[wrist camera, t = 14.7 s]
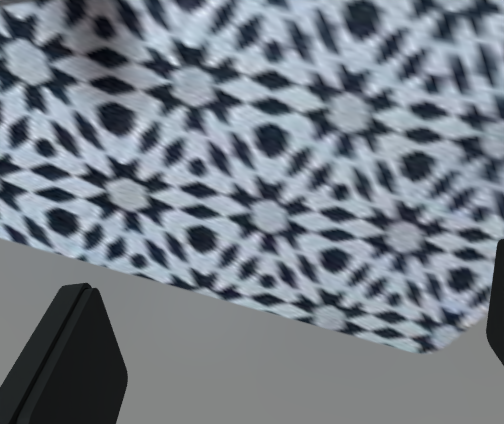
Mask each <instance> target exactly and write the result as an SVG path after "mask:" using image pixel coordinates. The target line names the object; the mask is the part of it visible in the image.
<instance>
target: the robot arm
mask: <svg viewBox="0 0 504 424" xmlns="http://www.w3.org/2000/svg"><path fill="white" fill-rule="evenodd" d="M486 334H487V339H488V342H489V344H490V346H491V348H492V349H493V351H494V352H495V354H496V355H497V356H498V358H499V360H500V361H501V362H502V364H503V365H504V239H501V240H499V242H498V244H497V250H496V258H495V266H494V273H493V281H492V289H491V297H490V305H489V312H488V320H487V328H486ZM127 382H128V376H127V370H126V366H125V363H124V361H123V358H122V355H121V352H120V349H119V346H118V343H117V341H116V338H115V335H114V332H113V329H112V327H111V324H110V320H109V318H108V315H107V312H106V309H105V306H104V303H103V300H102V297H101V295H100V292H99V290H98V289H97V288H92V287H91V286H90V285H89V284H88V283H81V284H73V285H65V286H62V287H61V288H60V289H59V291H58V293H57V295H56V296H55V298H54V299H53V301H52V303H51V304H50V306H49V308H48V309H47V311H46V313H45V314H44V316H43V318H42V319H41V321H40V323H39V324H38V326H37V327H36V329H35V331H34V332H33V334H32V336H31V337H30V339H29V341H28V342H27V344H26V346H25V347H24V349H23V351H22V352H21V354H20V356H19V357H18V359H17V360H16V362H15V364H14V365H13V367H12V369H11V371H10V372H9V374H8V375H7V377H6V379H5V380H4V382H3V384H2V385H1V387H0V424H116V421H117V418H118V415H119V411H120V407H121V404H122V401H123V398H124V394H125V391H126V387H127Z"/></svg>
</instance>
